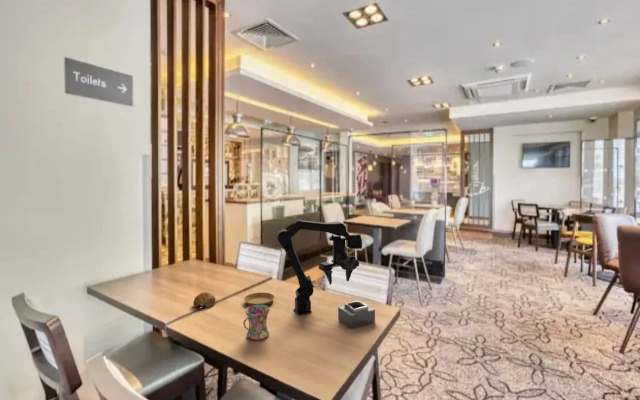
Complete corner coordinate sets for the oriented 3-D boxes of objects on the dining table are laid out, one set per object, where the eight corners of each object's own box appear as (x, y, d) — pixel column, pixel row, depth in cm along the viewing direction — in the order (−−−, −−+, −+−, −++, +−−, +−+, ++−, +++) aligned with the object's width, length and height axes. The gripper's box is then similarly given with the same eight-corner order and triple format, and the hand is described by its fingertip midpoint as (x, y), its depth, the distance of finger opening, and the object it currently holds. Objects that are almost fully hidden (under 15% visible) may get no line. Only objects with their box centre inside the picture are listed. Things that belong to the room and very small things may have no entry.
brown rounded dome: (217, 311, 159) (221, 294, 162) (203, 309, 150) (208, 292, 153) (202, 308, 163) (206, 291, 166) (187, 306, 154) (192, 289, 157)
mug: (257, 328, 133) (256, 302, 133) (274, 333, 129) (274, 307, 128) (235, 341, 123) (234, 313, 122) (253, 347, 118) (253, 319, 118)
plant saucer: (250, 296, 169) (250, 291, 169) (278, 298, 167) (278, 293, 166) (239, 307, 154) (239, 302, 154) (269, 309, 152) (269, 304, 152)
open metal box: (351, 329, 132) (351, 312, 132) (338, 319, 141) (338, 303, 140) (374, 322, 138) (374, 306, 137) (361, 313, 147) (361, 298, 146)
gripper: (330, 255, 138) (330, 291, 139) (366, 250, 147) (366, 284, 148) (318, 250, 148) (318, 284, 149) (352, 246, 157) (352, 277, 158)
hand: (339, 282), depth 151 cm, fingers open, 9 cm apart
